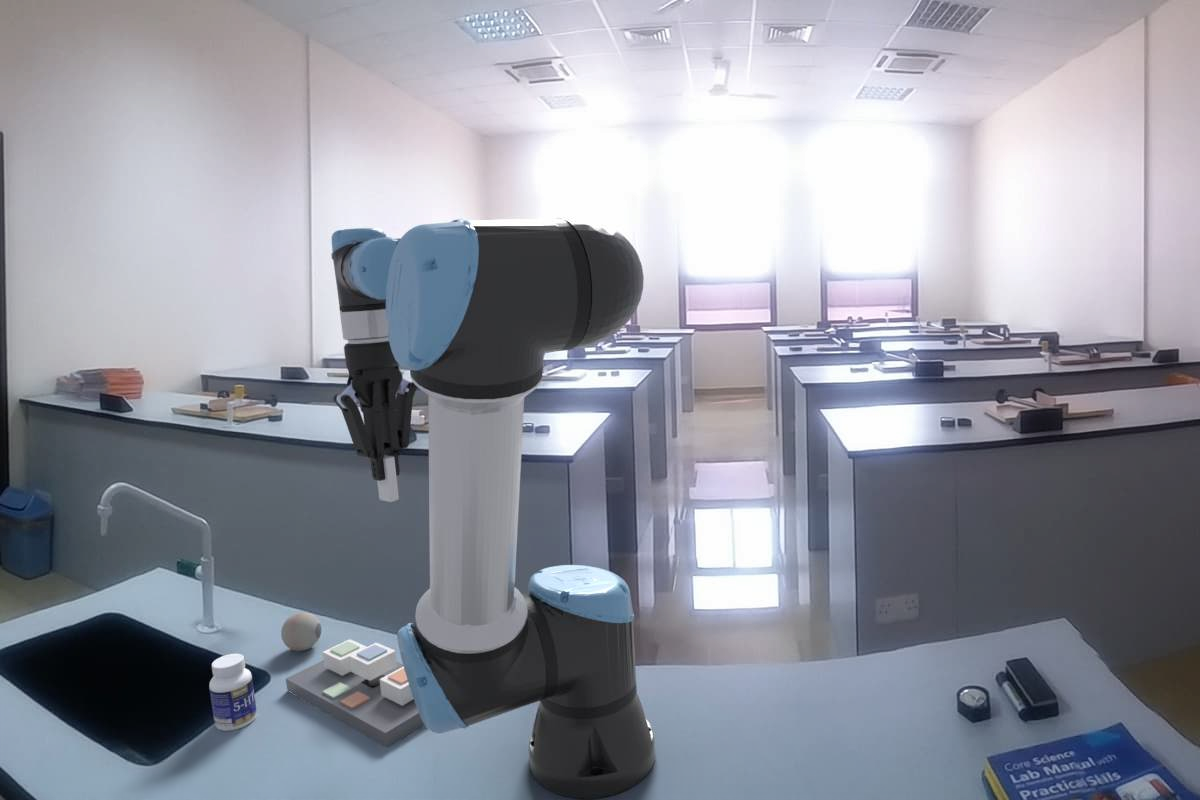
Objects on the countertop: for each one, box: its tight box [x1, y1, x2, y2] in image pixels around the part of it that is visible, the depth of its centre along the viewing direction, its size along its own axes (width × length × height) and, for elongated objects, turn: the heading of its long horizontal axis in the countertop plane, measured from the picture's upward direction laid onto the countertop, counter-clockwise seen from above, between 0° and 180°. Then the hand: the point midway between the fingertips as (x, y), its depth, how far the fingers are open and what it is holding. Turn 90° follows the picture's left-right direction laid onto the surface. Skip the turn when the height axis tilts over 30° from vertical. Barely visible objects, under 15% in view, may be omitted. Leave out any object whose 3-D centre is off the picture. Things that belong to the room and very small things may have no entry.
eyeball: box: [280, 611, 322, 652], centre depth 124 cm, size 6×6×6 cm
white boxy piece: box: [349, 642, 398, 686], centre depth 109 cm, size 5×5×5 cm
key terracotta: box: [380, 666, 414, 706], centre depth 105 cm, size 5×5×5 cm
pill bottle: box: [208, 653, 258, 732], centre depth 105 cm, size 5×5×9 cm
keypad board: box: [285, 659, 425, 748], centre depth 109 cm, size 24×12×2 cm, turn 51°
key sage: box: [322, 638, 367, 676], centre depth 114 cm, size 5×5×5 cm
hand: (389, 499), depth 113 cm, fingers closed
